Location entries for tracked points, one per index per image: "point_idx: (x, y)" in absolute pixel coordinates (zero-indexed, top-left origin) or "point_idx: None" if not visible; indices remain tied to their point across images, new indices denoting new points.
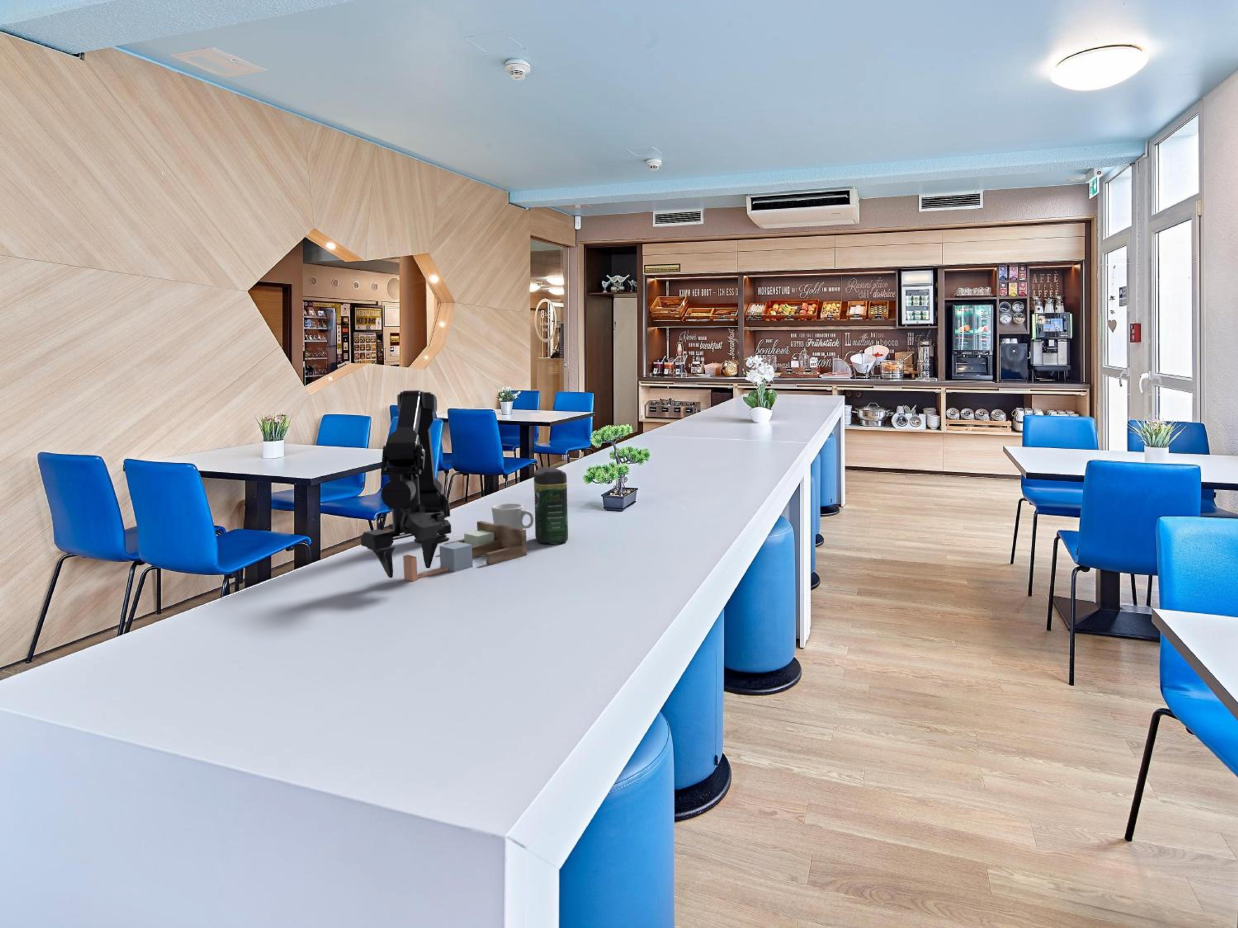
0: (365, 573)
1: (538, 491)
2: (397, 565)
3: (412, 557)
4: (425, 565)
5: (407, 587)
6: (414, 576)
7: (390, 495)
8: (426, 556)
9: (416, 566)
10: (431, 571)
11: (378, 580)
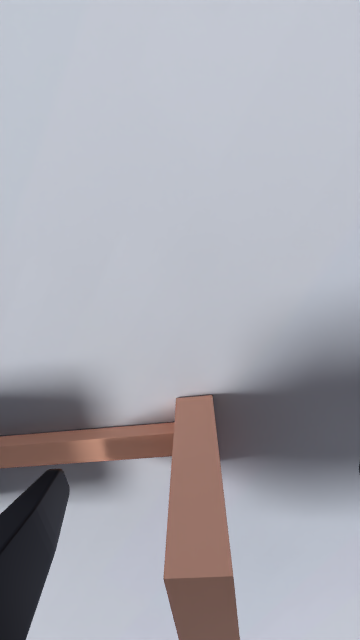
0: (290, 613)
1: None
2: (130, 619)
3: (209, 585)
4: (65, 504)
5: (315, 305)
6: (198, 414)
7: None
8: (21, 577)
9: (175, 474)
10: (46, 457)
11: (325, 517)
